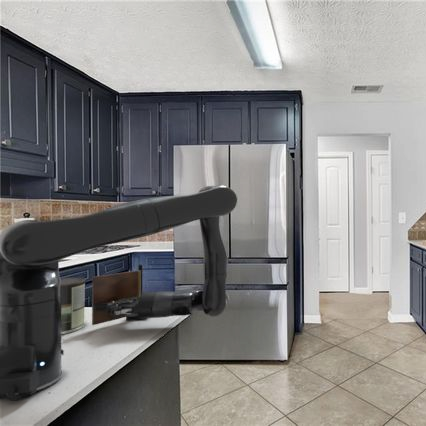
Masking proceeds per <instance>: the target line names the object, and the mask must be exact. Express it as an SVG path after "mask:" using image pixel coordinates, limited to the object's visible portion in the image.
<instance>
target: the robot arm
mask: <svg viewBox="0 0 426 426" xmlns="http://www.w3.org/2000/svg"><path fill="white" fill-rule="evenodd" d="M237 204H238V197H237V193H236V192H235V190H233V189H232V188H231V187H228V186H226V185H222V184H221V185H220V184H218V185H207V186H204V187H202V188H201V189H200V190H199V191H198V192H196V193H192V194H182V195H180V194H179V195H164V196H155V197H147V198H141V199H137V200H131V201H127V202H123V203H119V204H116V205H113V206H110V207H107V208H104V209H102V210H98V211H96V212H93V213H90V214H89V213H88V214H86V215H79V216H73V217H67V218H66V217H65V218H59V219H49V220H36V219H34V220H33V219H26V220H19V221H16V222H14V223H12V224H9V225H8V226H7V227H5V228H4V229H3V230H2V231H1V232H0V399H2V398H3V399H4V398H7V399H8V400H9V401H20V400H21V399H22V398H23V397H27V396H28V397H29V396H33V395H34V394H35V393H37V392H39V391H41V390H44V389H46V388H48V387H50V386H52V385H53V384H56V383H57V382H58V381H59V380H60V379H61V378H62V377H63V370H62V356H64V353H65V352H64V350H63V349H62V334H61V303H62V284H61V280H60V278H61V277H60V268H59V265H60V264H59V261H61V260H64V259H67V258H70V257H72V256H75V255H78V254H80V253H84V252H86V251H89V250H92V249H96V248H99V247H103V246H104V247H105V246H108V245H109V246H110V245H114V244H119V243H123V242H128V241H132V240H136V239H140V238H144V237H145V238H146V237H148V236H152V235H156V234H159V233H162V232H165V231H168V230H171V229H174V228H178V227H180V226H184V225H186V224H189V223H192V222H194V221H195V222H196V221H199V227H200V233H201V240H202V252H203V287H202V289H199V290H194V291H144V292H142V294H141V296H140V298H138V296H133V297H127V298H122V299H117V300H116V301H111V302H102V303H96V304H94V306H93V310H94V312H101V311H107V314H108V315H111V316H114V317H121V314H133V313H135V312H136V313H137V314H138V316H139V317H140V318H148V319H160V318H161V319H163V318H170V317H181V316H182V317H183V316H191V315H193V314H195V313H197V312H202V311H203V313H204V314H205V315H206V316H207V317H210V318H217V317H220V316H221V315H222V314H223V313H224V312H226V310H227V306H228V304H229V301H230V295H229V293H228V292H227V280H228V272H229V271H228V270H229V269H228V265H229V264H228V263H229V262H228V261H229V259H228V254H227V253H228V252H227V249H226V244H225V242H224V239H223V236H222V232H221V225H220V221H221V220H220V218H221V217H222V216H223V217H224V216H227V215H229V214H231V213H232V212H233V211H234V210H235V208H236V206H237Z"/></svg>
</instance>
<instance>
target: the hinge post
mask: <svg viewBox="0 0 426 426" xmlns="http://www.w3.org/2000/svg"><path fill="white" fill-rule="evenodd" d="M137 267H138V268H137V270H141V294H142V293H143V281H144V280H143V278H144V277H143V267H144V265H143V264H138V266H137ZM148 319H149V318H140V317H139V316H138V314H136V315H132V316H128V317H125V321H145V320H148Z"/></svg>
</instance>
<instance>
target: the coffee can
mask: <svg viewBox="0 0 426 426" xmlns="http://www.w3.org/2000/svg"><path fill="white" fill-rule="evenodd" d="M60 280H61V284H62V303H61V335H66V334H70V333H73V332H76V331H78V330H80V329H82V328H84V327H85V325H86V323H85V306H86V305H85V301H86V299H85V298H86V296H85V293H86V278H84V277H60Z"/></svg>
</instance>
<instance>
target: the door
mask: <svg viewBox="0 0 426 426" xmlns="http://www.w3.org/2000/svg"><path fill="white" fill-rule="evenodd" d="M91 280H92V281H91V295H92V296H91V325H92V326H95V325H96V326H97V325H100V324H103V323H108V322H112V321H115V320H121V319H125V318H126V317H128V316H132V315H136V314H137V313H136V312H135V313H133V314H121V317H114V316H111V315H108V314H107V311H101V312H94V310H93V306H94V304H96V303H102V302H111V301H116V300H117V299H122V298H127V297H133V296H138V298H140V296H141V270H138V269H137V270H131V271H124V272H119V273H118V272H117V273H116V272H115V273H110V274H109V273H108V274H103V275H96V276H92V277H91Z"/></svg>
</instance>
